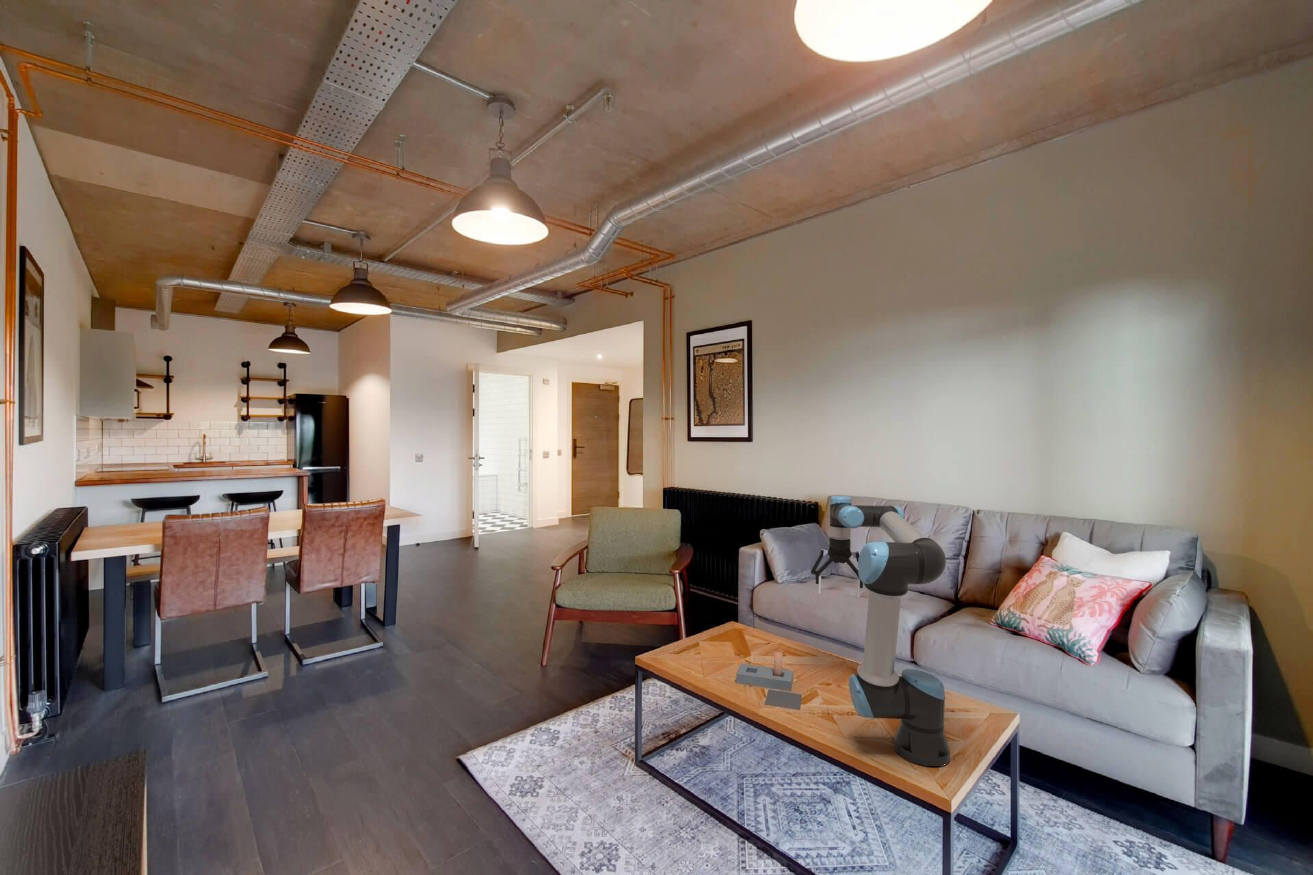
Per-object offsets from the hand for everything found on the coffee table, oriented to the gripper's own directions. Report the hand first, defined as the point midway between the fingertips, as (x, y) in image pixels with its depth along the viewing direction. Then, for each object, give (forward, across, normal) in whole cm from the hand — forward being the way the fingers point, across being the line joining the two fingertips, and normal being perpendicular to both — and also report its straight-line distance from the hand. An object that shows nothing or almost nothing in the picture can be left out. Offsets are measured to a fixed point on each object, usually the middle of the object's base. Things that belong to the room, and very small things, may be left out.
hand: (838, 594), depth 209 cm
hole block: (+35, +26, +5) cm, 44 cm away
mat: (+35, +18, +17) cm, 43 cm away
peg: (+35, +21, +5) cm, 41 cm away
